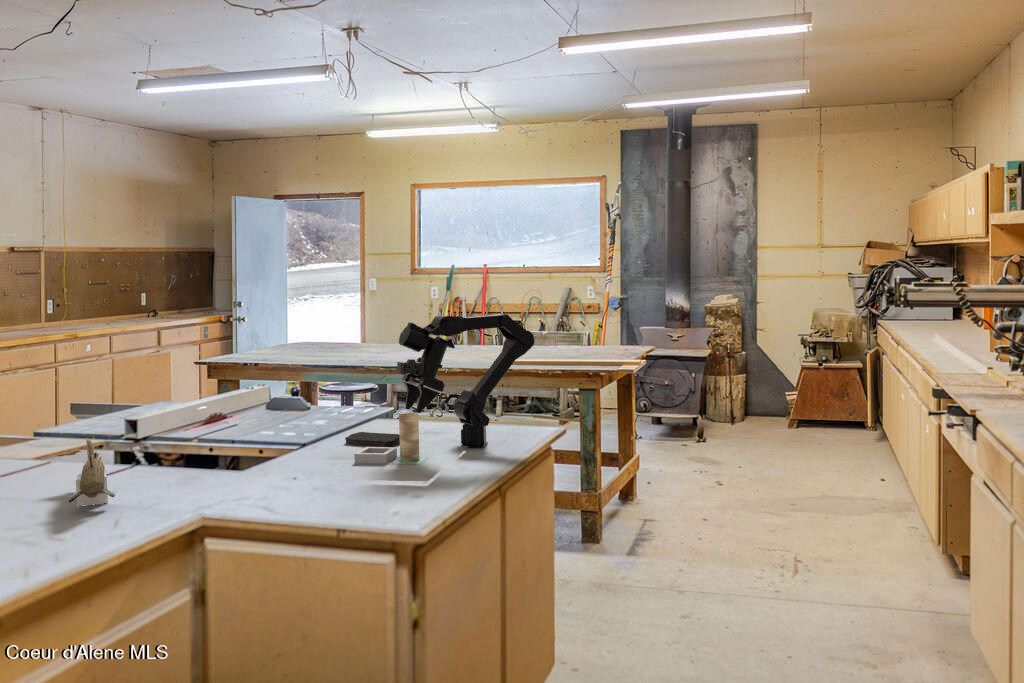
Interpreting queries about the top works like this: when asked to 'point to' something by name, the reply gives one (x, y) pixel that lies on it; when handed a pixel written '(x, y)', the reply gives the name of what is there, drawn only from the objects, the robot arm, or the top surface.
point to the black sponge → (373, 439)
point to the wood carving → (92, 481)
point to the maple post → (409, 437)
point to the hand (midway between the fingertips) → (412, 410)
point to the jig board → (383, 456)
